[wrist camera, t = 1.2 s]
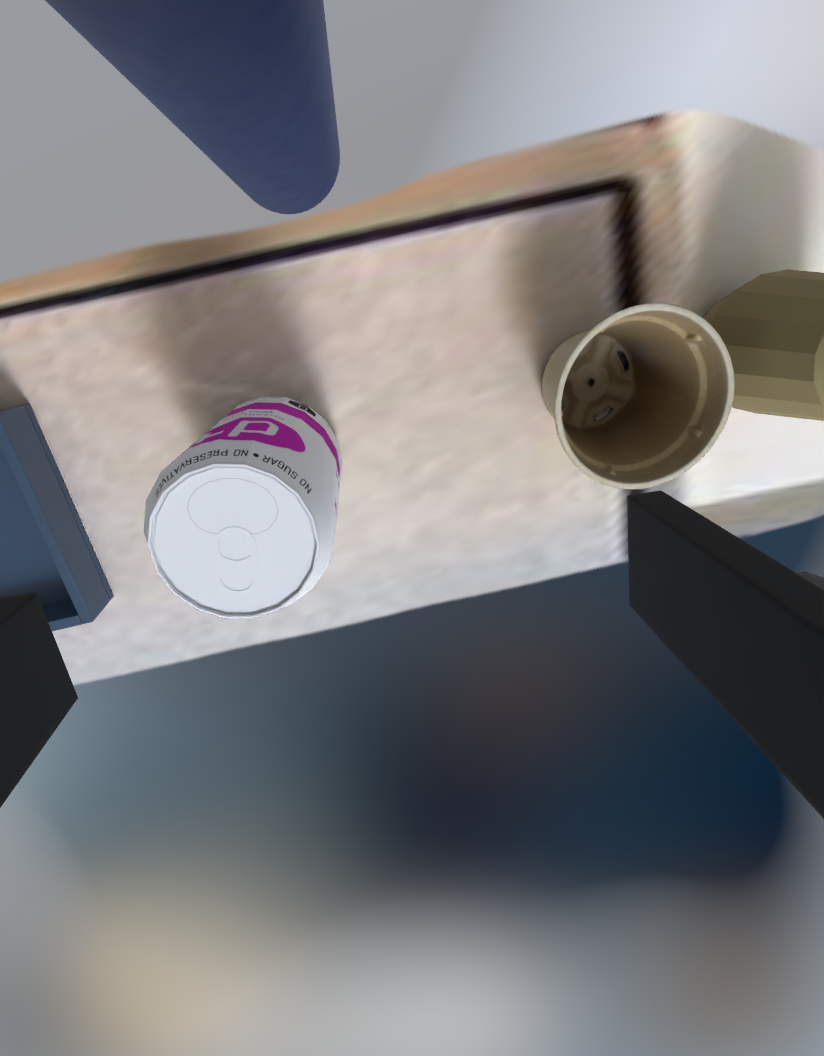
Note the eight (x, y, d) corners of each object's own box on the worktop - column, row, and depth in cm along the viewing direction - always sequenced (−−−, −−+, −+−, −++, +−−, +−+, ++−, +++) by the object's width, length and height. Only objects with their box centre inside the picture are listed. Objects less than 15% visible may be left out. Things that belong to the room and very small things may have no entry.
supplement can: (207, 392, 38) (119, 447, 24) (342, 396, 39) (333, 451, 25) (216, 517, 41) (142, 631, 27) (341, 518, 42) (334, 630, 28)
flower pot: (484, 397, 40) (517, 422, 32) (581, 269, 37) (643, 261, 29) (591, 478, 42) (647, 521, 34) (687, 363, 40) (771, 380, 32)
